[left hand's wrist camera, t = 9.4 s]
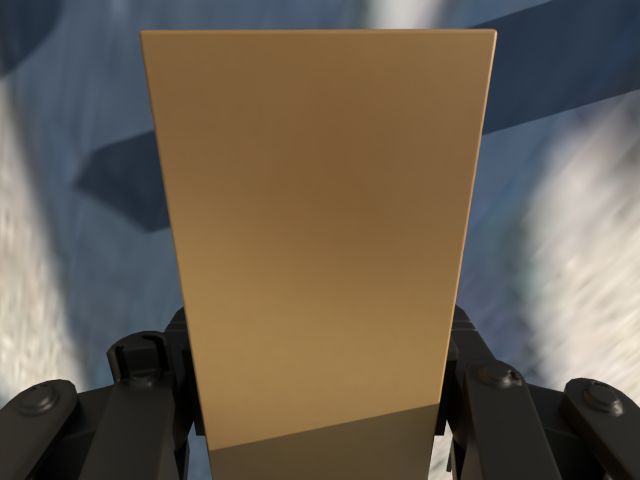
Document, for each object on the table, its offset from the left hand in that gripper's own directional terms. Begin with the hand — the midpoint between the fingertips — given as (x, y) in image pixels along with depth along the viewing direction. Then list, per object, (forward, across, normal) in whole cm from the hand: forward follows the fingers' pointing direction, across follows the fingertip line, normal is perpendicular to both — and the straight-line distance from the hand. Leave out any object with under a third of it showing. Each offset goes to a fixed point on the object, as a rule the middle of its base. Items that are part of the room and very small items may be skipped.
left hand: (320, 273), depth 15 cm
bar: (0, 0, -29) cm, 29 cm away
